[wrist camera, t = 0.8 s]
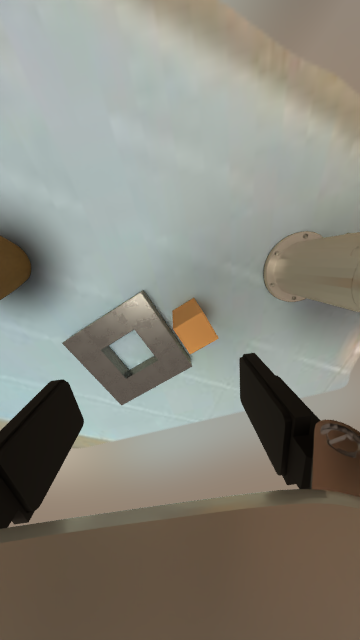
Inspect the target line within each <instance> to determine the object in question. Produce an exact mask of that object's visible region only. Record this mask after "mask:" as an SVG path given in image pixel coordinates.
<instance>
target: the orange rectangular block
mask: <svg viewBox="0 0 360 640" xmlns="http://www.w3.org/2000/svg"><path fill="white" fill-rule="evenodd" d="M172 313H173V330H174V331H175V333H176V334H177V335H178V337H179V338H180V340H181V341H182V343H183V344H184V346H185V347H186V349H187V350H188V352H189V353H190V354H192V353H194V352H195V351H197V350H199V349H201V348H203V347H204V346H206V345H208V344H210V343H211V342H213V341H215V340H217V339H218V336H217V335H216V333H215V331H214V330H213V328H212V326H211V324H210V323H209V321H208V319H207V318H206V316H205V314H204V313H203V311H202V310H201V308H200V306H199V305H198V303H197V302H196V300H195V299H194V298H193V299H191V300H189V301H188V302H186V303H184V304H183V305H181V306H180V307H178V308H176V309H175V310H173V311H172Z"/></svg>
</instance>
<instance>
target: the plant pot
mask: <svg viewBox="0 0 360 640" xmlns="http://www.w3.org/2000/svg"><path fill="white" fill-rule="evenodd" d="M30 274H31V263H30V260H29V258H28V256H27V255H26V253H25V252H24V251H23V250H22V249H21V248H20V247H19V246H17V245H16V244H14V243H12V242H11V241H9V240H7V239H5V238H4V237H2V236H0V300H1V299H3V298H4V297H6V296H7V295H9V294H10V293H12V292H13V291H14V290H16V289H17V288H18V287H19V286H21V285H22V284H23V283H24V282H25V281H26V280H27V279H28V278H29V276H30Z"/></svg>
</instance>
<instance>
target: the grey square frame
mask: <svg viewBox="0 0 360 640" xmlns="http://www.w3.org/2000/svg"><path fill="white" fill-rule="evenodd" d="M134 329H135V331H136V332H137V333H138V334H139V336H140V337H141V338H142V340H143V341H144V342H145V344H146V345H147V346H148V348H149V349H150V350H151V351H152V353H153V354H154V355H155V356H153V357H151V358H150V359H148V360H146V361H145V362H143V363H141V364H139V365H138V366H136V367H134V368H132V369H131V370H129V369H128V368H127V367H126V366H125V365H124V363H123V362H122V361H121V360H120V359H119V358H118V356H117V355H116V354H115V353H114V352H113V351H112V349H111V348H110V347H109V346H108V345H110V344H111V343H113V342H115V341H116V340H118V339H120V338H121V337H123V336H124V335H126V334H128V333H129V332H131V331H133V330H134ZM62 344H63V345H64V346H65V347H66V348H67V349H68V350H69V351H70V352H71V353H72V354H73V355H74V356H75V357H76V358H77V359H78V360H79V361H80V362H81V363H82V364H83V366H84V367H85V368H86V369H87V370H88V371H89V372H90V373H91V374H92V375H93V376H94V377H95V378H96V379H97V380H98V381H99V382H100V383H101V384H102V385H103V386H104V387H105V389H106V390H107V391H108V392H109V393H110V394H111V395H112V396H113V397H114V398H115V399H116V400H117V401H118V402H119V403H120V404H121V405H123V404H125V403H127V402H129V401H130V400H132V399H134V398H136V397H138V396H139V395H141V394H143V393H145V392H147V391H149V390H150V389H152V388H154V387H156V386H158V385H159V384H161V383H163V382H165V381H167V380H168V379H170V378H172V377H174V376H176V375H177V374H179V373H181V372H183V371H185V370H187V369H188V368H190V367H192V363H191V359H190V357H189V356H188V354H187V353H186V351H185V350H184V348H183V347H182V346H181V344H180V343H179V341H178V340H177V338H176V337H175V335H174V334H173V332H172V331H171V330H170V328H169V327H168V325H167V324H166V322H165V321H164V319H163V318H162V316H161V315H160V314H159V312H158V311H157V309H156V308H155V306H154V305H153V303H152V302H151V300H150V299H149V298H148V296H147V295H146V293H145V292H144V290H142V291H141V292H139V293H138V294H136V295H135V296H133V297H132V298H130V299H129V300H127V301H125V302H124V303H122V304H121V305H119V306H118V307H116V308H115V309H113V310H111V311H110V312H108V313H107V314H105V315H104V316H102V317H101V318H99V319H97V320H96V321H94V322H93V323H91V324H90V325H88V326H87V327H85V328H83V329H82V330H80V331H79V332H77V333H76V334H74V335H73V336H71V337H70V338H68V339H67V340H66V341H64V342H63V343H62Z"/></svg>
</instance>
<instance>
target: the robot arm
mask: <svg viewBox="0 0 360 640" xmlns="http://www.w3.org/2000/svg"><path fill="white" fill-rule="evenodd" d="M274 253H275V255H274ZM264 281H265V285H266V287H267V289H268V290H269V292H270V293H271V294H272V295H273V296H274V297H276V298H278V299H280V300H283V301H287V302H296V301H301V300H304V299H306V298H308V299H311V300H315V301H319V302H323V303H326V304H330V305H334V306H338V307H341V308H345V309H349V310H353V311H357V312H360V232H357V233H346V234H344V235H338V236H332V237H325V238H324V237H322V236H321V235H319V234H317V233H315V232H309V231H306V232H298V233H294V234H292V235H289V236H287V237H286V238H284V239H282V240H281V241H280V242H279V243H278V244H276V246H275V247H274V248H273V249H272V250H271V252H270V254H269V255H268V258H267V260H266V263H265V267H264ZM270 284H271V285H270ZM240 399H241V402H242V405H243V407H244V409H245V411H246V413H247V415H248V417H249V419H250V421H251V423H252V425H253V427H254V429H255V431H256V433H257V435H258V437H259V439H260V441H261V443H262V445H263V447H264V449H265V451H266V452H267V455H268V457H269V459H270V461H271V463H272V465H273V467H274V469H275V471H276V472H277V474H278V475H282V476H283V478H284V480H285V482H286V484H287V485H291V484H297V486H298V487H299V489H294V490H277V491H269V492H260V493H251V494H243V495H234V496H226V497H220V498H211V499H204V500H197V501H190V502H182V503H175V504H168V505H160V506H153V507H147V508H139V509H132V510H125V511H118V512H112V513H104V514H98V515H90V516H84V517H77V518H70V519H63V520H56V521H50V522H43V523H36V524H30V525H23V526H16V527H10V528H7V527H8V526H9V524H10V523H11V521H12V522H13V523H14V524H20V523H27V522H29V520H30V518H31V517H32V515H33V513H34V511H35V510H36V509H37V508H39V506H40V505H41V503H42V501H43V499H44V497H45V496H46V494H47V492H48V490H49V488H50V486H51V484H52V482H53V481H54V479H55V477H56V475H57V473H58V471H59V470H60V468H61V466H62V464H63V462H64V460H65V458H66V456H67V455H68V453H69V451H70V449H71V447H72V445H73V444H74V442H75V440H76V438H77V436H78V434H79V432H80V430H81V429H82V427H83V424H84V419H83V417H82V414H81V412H80V409H79V407H78V404H77V402H76V400H75V397H74V395H73V392H72V390H71V387H70V385H69V383H68V382H66V381H65V380H55V381H51V382H49V383H48V384H47V385H46V386H45V387H44V388H43V389H42V390H41V391H40V392H39V393H38V394H37V395H36V396H35V397H34V398H33V399H32V400H31V401H30V402H29V403H28V404H27V405H26V406H25V407H24V408H23V409H22V410H21V411H20V412H19V413H18V414H17V415H16V416H15V417H14V418H13V419H12V420H11V421H10V422H9V423H8V424H7V425H6V426H5V427H4V428H3V429H2V430H1V431H0V640H360V432H359V431H357V430H355V429H354V428H352V427H351V426H349V425H346V424H344V423H342V422H338V421H334V420H322V421H320V420H319V419H318V417H317V416H315V415H314V414H313V412H312V411H311V410H310V409H309V408H308V407H307V406H306V405H305V404H304V403H303V402H302V400H300V398H299V397H298V396H297V395H296V394H295V393H294V392H293V391H292V390H291V389H290V388H289V387H288V386H287V385H286V384H285V382H284V381H283V380H282V379H281V378H280V377H278V376H275V375H274V374H273V372H272V371H271V370H270V369H269V368H268V367H267V366H266V365H265V364H264V363H263V362H262V361H261V359H260V358H259V357H258V356H257V355H256V354H255V353H250V354H243V357H241V358H240Z"/></svg>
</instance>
